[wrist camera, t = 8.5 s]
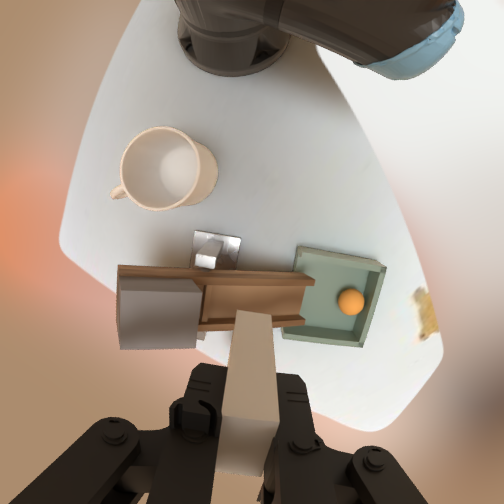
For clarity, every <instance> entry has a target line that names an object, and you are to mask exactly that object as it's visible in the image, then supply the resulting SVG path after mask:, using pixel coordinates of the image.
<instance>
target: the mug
mask: <svg viewBox="0 0 504 504" xmlns="http://www.w3.org/2000/svg"><path fill="white" fill-rule="evenodd" d="M217 178H218V166H217V162H216V159H215V157H214V155H213V154H212V153H211V151H210V150H209V149H208V148H207V147H205V146H204V145H202V144H200V143H198V142H195V141H194V140H193V139H191V138H190V137H189V136H187V135H186V134H185V133H183V132H182V131H180V130H178V129H175V128H172V127H166V126H159V127H153V128H150V129H147V130H145V131H143V132H141V133H140V134H138V135H137V136H136V137H135V138H133V140H132V141H131V142H130V143H129V144H128V146H127V147H126V149H125V151H124V153H123V156H122V159H121V163H120V179H121V183H122V184H120V185H119V186H117V187H115V188H114V189H113V190H112V191H111V192H110V196H111V198H112V199H120V198H124V197H129V198H130V199H131V200H132V201H133V202H134V203H135V204H137V205H138V206H140V207H142V208H144V209H147V210H152V211H164V210H169V209H173V208H176V207H180V206H189V205H194V204H197V203H199V202H201V201H203V200H204V199H205V198H206V197H208V196H209V194H210V193H211V192H212V191H213V189H214V187H215V185H216V182H217Z"/></svg>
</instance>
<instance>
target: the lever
mask: <svg viewBox="0 0 504 504" xmlns="http://www.w3.org/2000/svg"><path fill="white" fill-rule="evenodd" d="M315 281H316V280H315V279H313V278H312V277H310V276H308V275H306V274H305V273H300V272H269V271H241V270H216V269H209V268H205V267H202V268H200V269H193V268H172V267H152V266H133V265H118V271H117V296H116V298H117V300H116V323H117V331H118V337H119V344H120V349H121V350H150V349H184V348H185V349H186V348H196V339H197V332H203V331H228V330H233V333H234V326H235V320H236V313H237V310H242V311H248V312H255V313H262V314H269V315H271V319H272V328H277V327H290V326H301V325H305V321H306V319H305V318H303V317H302V316H301V315H299V313H300V309H301V305H302V301H303V297H304V292H305V288H306V286H314V285H315ZM232 339H233V336H232ZM231 346H232V342H231ZM230 352H231V347H230ZM229 359H230V353H229ZM229 359H228V365H229ZM228 365H227V366H228Z"/></svg>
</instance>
